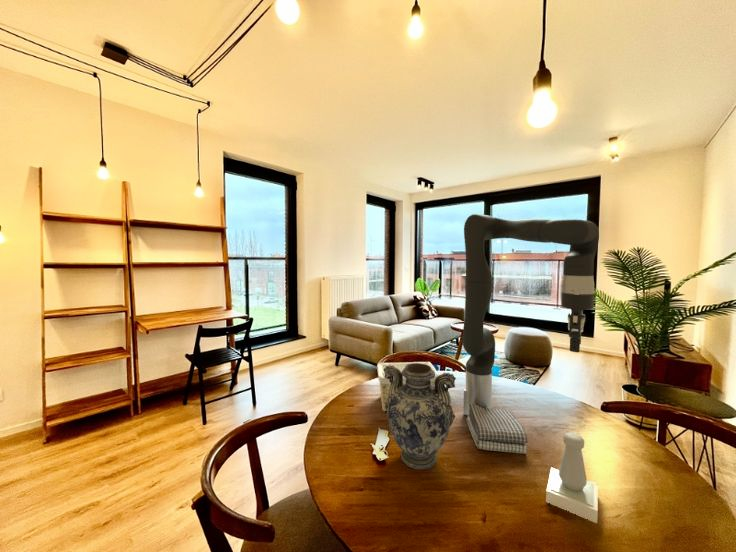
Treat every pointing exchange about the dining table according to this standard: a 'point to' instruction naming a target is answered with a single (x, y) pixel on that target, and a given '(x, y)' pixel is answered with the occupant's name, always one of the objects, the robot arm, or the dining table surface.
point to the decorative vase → (419, 412)
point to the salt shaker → (573, 463)
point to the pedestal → (573, 497)
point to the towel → (496, 430)
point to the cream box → (386, 383)
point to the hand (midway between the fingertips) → (575, 347)
